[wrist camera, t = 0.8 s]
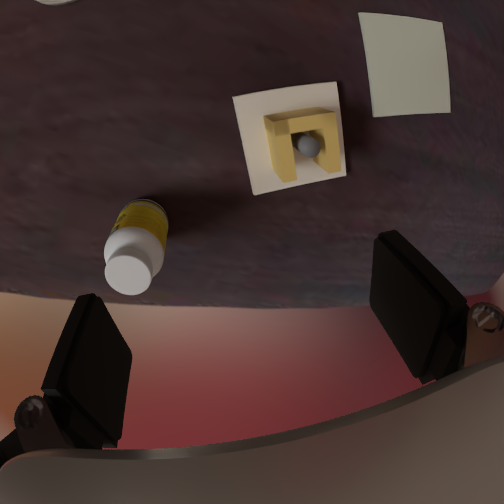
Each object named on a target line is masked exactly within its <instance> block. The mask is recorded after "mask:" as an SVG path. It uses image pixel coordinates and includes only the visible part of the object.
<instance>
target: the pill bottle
mask: <svg viewBox="0 0 504 504" xmlns="http://www.w3.org/2000/svg"><path fill="white" fill-rule="evenodd" d="M168 226H169V222H168V217H167V214H166V212H165V211H164V209H163V208H162V207H161V206H160V205H159V204H157V203H156V202H154V201H151V200H148V199H138V200H134V201H132V202H130V203H128V204H127V205H126V206H125V207H124V208H123V209H122V211H121V213H120V215H119V217H118V219H117V221H116V223H115V225H114V227H113V229H112V231H111V234H110V235H109V238H108V240H107V242H106V245H105V249H104V257H105V261H106V267H105V277H106V280H107V282H108V283H109V285H110V286H111V287H112V288H113V289H115V290H116V291H118V292H120V293H123V294H126V295H136V294H140V293H142V292H144V291H145V290H146V289H147V288H148V287H149V285H150V283H151V280H152V277H154V276H155V275H156V274H157V273H158V272H159V270H160V269H161V267H162V264H163V260H164V252H165V245H166V238H167V232H168Z"/></svg>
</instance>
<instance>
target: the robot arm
mask: <svg viewBox="0 0 504 504" xmlns="http://www.w3.org/2000/svg"><path fill="white" fill-rule="evenodd" d="M36 1H38V2H40V3H43V4H46V5H54V6H57V5H65V4H68V3H72V2H75V1H77V0H36ZM466 303H467V300H466V299H465V298H464V297H463V295H462V294H461V293H460V292H459V291H458V290H457V289H456V288H455V287H454V286H453V285H452V284H451V283H450V282H449V281H448V280H447V279H446V278H445V277H444V276H443V275H442V274H441V273H440V272H439V271H438V270H437V269H436V268H435V267H434V266H433V265H432V264H431V263H430V262H429V261H428V260H427V259H426V258H425V257H424V256H423V255H422V254H421V253H420V252H419V251H418V250H417V249H416V248H415V247H414V246H413V245H412V244H411V243H409V242H408V241H407V240H406V239H405V238H404V237H403V236H402V235H401V234H400V233H399V232H398V231H396V230H391V231H386V232H382V233H379V235H378V238H376V239H375V240H374V250H373V265H372V278H371V289H370V306H371V308H372V310H373V312H374V313H375V315H376V316H377V318H378V319H379V321H380V323H381V324H382V326H383V327H384V329H385V331H386V332H387V334H388V335H389V337H390V339H391V340H392V342H393V344H394V345H395V347H396V348H397V350H398V352H399V353H400V355H401V357H402V358H403V360H404V362H405V363H406V365H407V366H408V368H409V370H410V372H411V373H412V375H413V376H414V377H415V378H419V380H420V381H421V383H422V384H425V383H427V382H430V381H432V380H434V379H436V381H435V382H433V383H430V384H428V385H426V386H423V387H421V388H418V389H416V390H414V391H411V392H409V393H406V394H404V395H401V396H399V397H396V398H394V399H391V400H388V401H386V402H383V403H380V404H378V405H375V406H372V407H369V408H366V409H363V410H360V411H357V412H354V413H351V414H348V415H345V416H341V417H339V418H335V419H331V420H328V421H325V422H321V423H317V424H313V425H310V426H306V427H302V428H297V429H293V430H289V431H285V432H280V433H275V434H271V435H266V436H260V437H255V438H250V439H244V440H237V441H231V442H224V443H216V444H208V445H200V446H190V447H178V448H164V449H140V450H139V449H138V450H102V447H103V448H117V442H118V440H119V439H120V438H121V436H122V428H123V419H124V411H125V403H126V396H127V388H128V382H129V375H130V369H131V363H132V353H131V350H130V348H129V347H128V345H127V343H126V342H125V340H124V338H123V337H122V335H121V333H120V332H119V330H118V328H117V326H116V324H115V323H114V321H113V319H112V317H111V315H110V314H109V312H108V310H107V308H106V306H105V305H104V302H103V301H102V299H101V298H100V297H97V296H96V295H95V294H93V293H91V294H86V295H81V296H78V298H77V299H76V302H75V304H74V306H73V308H72V311H71V313H70V315H69V317H68V320H67V322H66V324H65V326H64V329H63V331H62V334H61V336H60V338H59V341H58V344H57V346H56V348H55V351H54V354H53V356H52V359H51V361H50V364H49V367H48V370H47V372H46V376H45V378H44V381H43V384H42V387H41V390H42V391H43V392H44V396H43V398H42V397H41V396H39V395H33V396H29V397H27V398H25V399H24V400H23V401H22V402H21V403H20V404H19V405H18V407H17V409H16V411H15V415H14V424H15V427H16V429H14V430H13V431H12V432H11V433H10V434H9V435H7V436H6V437H5V438H4V439H3V440H2V441H0V504H504V312H503V311H502V310H501V309H500V308H499V307H497V306H496V305H494V304H491V303H486V302H480V303H476V304H474V305H473V306H472V307H471V308H469V307H468V306H467V304H466Z"/></svg>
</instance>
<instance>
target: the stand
mask: <svg viewBox="0 0 504 504" xmlns="http://www.w3.org/2000/svg"><path fill="white" fill-rule="evenodd" d="M233 102H234V106H235V111H236V116H237V120H238V125H239V130H240V134H241V139H242V144H243V149H244V153H245V158H246V163H247V168H248V172H249V177H250V182H251V187H252V192H253V194H254V195H258V194H262V193H267V192H271V191H275V190H280V189H284V188H289V187H293V186H298V185H302V184H307V183H312V182H316V181H321V180H326V179H331V178H336V177H341V176H346V166H345V153H344V142H343V132H342V122H341V113H340V105H339V97H338V90H337V83H336V82H324V83H314V84H306V85H298V86H291V87H284V88H277V89H271V90H265V91H259V92H254V93H249V94H244V95H239V96H234V97H233ZM312 107H320V108H324V109H327V110H330V111H334V112H336V121H337V130H338V139H339V149H340V161H341V171H340V172H334V173H329V174H328V173H327V172H326V171H325V170H324V169H322V168H321V167H320V166H319V165H317V164H316V163H315V162H314V161H313V157H316V156H317V155H318V154H319V152H320V149H321V147H320V143H319V142H318V141H317V140H315V139H314V138H312V137H310V135H309V131H303V132H297V133H291V140H292V147H293V154H294V160H295V167H296V174H297V180H295V181H291V182H286V183H283V182H282V181H281V179H280V178H279V177H278V175H277V174H276V173H275V172H274V170H273V168H272V163H271V157H270V152H269V146H268V141H267V135H266V130H265V125H264V119H263V116H264V115H269V114H275V113H280V112H286V111H292V110H299V109H305V108H312Z"/></svg>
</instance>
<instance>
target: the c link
mask: <svg viewBox="0 0 504 504" xmlns="http://www.w3.org/2000/svg"><path fill="white" fill-rule="evenodd" d="M263 119H264V125H265V130H266V135H267V141H268V146H269V152H270V157H271V163H272V168H273V170H274V172H275V173H276V174H277V175H278V177H279V178H280V179H281V181H282V182H283V183H286V182H291V181H295V180H297V174H296V167H295V160H294V154H293V147H292V140H291V133H297V132H303V131H309V135H310V137H312V138H314V139H315V140H317V141H318V142H319V143H320V147H321V149H320V152H319V154H318V155H317V156H316V157H313V161H314V162H315V163H316V164H317V165H319V166H320V167H321V168H322V169H324V170H325V171H326V172H327V173H328V174H329V173H334V172H340V171H341V161H340V149H339V139H338V130H337V121H336V112H334V111H330V110H327V109H324V108H320V107H312V108H305V109H299V110H292V111H286V112H280V113H275V114H269V115H264V116H263Z"/></svg>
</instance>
